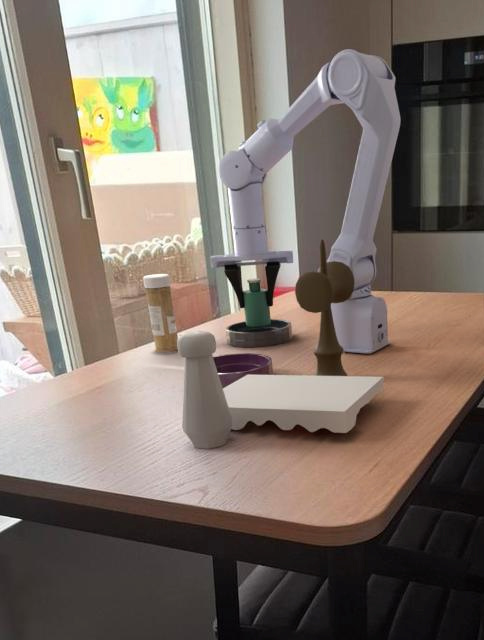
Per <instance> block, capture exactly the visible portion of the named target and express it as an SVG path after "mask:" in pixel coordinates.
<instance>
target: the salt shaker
mask: <svg viewBox="0 0 484 640" xmlns="http://www.w3.org/2000/svg"><path fill="white" fill-rule="evenodd" d="M177 349H178V350H177V353H178V355H179V356H181V358H184V370H183V371H184V374H183V377H184V378H183V404H182V423H181V425H182V426H181V427H182V430H183V432H184V434H185V435H186V436H187V438H188V439H189V441H190V442H191V443H192V445H193V446H194V448H195V449H205V450H210V449H215V448H218V447H219V448H220V447H223V446H224V445H225V444H226V443H227V441H228V440H229V436H230V432H231V430H232V429H231V427H232V417H231V414H230V411H229V407H228V404H227V401H226V398H225V394H224V391H223V388H222V385H221V382H220V378H219V375H218V372H217V369H216V366H215V362H214V359H213V357H214V355H213V354H214V353H216V350H217V340H216V337H215V335H214V334H213V333H211V332H209V331H203V330H202V331H201V330H194V331H188V332H185V333H183V334H180V335H179V336H178V340H177Z"/></svg>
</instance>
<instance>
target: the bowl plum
mask: <svg viewBox="0 0 484 640" xmlns="http://www.w3.org/2000/svg"><path fill="white" fill-rule="evenodd" d="M213 359H214V362H215V366H216V369H217V372H218V375H219V378H220V382H221V385H222V388H225V387H227V386H228V385H230V384H232V383H234V382H235V381H237V380H239V379H241V378H243V377H244V376H246V375H274V368H273V367H274V366H273V359H272V357H270V356H269V355H267V354H266V355H265V354H262V353H252V352H251V353H250V352H240V353H239V352H238V353H237V352H236V353H227V354H219V355H213Z"/></svg>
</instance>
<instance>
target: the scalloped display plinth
mask: <svg viewBox="0 0 484 640" xmlns="http://www.w3.org/2000/svg"><path fill="white" fill-rule="evenodd" d="M382 390H384V376H365V375H364V376H362V375H361V376H356V375H347V376H314V375H300V374H299V375H297V374H296V375H295V374H293V375H292V374H273V375H246V376H244V377H243V378H241V379H239V380H237V381H235V382H234V383H232V384H230V385H228V386H227V387H225V388H223V391H224V394H225V398H226V401H227V404H228V407H229V411H230V414H231V417H232V427H231V430H233V431H236V430H238V431H239V430H241V429H244V428H245V426H246V424H247V423H248V422H252V423H254V424H255V425H256V426H262V425H264V424H265V423H266V422H267V421H271V422H272V423H274V424H275V425H276V426H277V427H278V428H279V429H281V430H282V431H292V430H293V429H294V428H295V427H296V426H297V425H299V426H301V427H303V428H304V429H305V430H307V431H308V432H309V433H315V432H317V431H318V430H320V429H326V430H328V431H330V432H332V433H335V434H336V433H340V434H347V433H348V432H350V431H351V430H353V428H354V427H355V426H356V423H357V415H358V414H359V413H360V409H361V408H363V407H364V406H365V405H367V404H369V403H370V402H371V400H372V399H373V398H374V397H375V396H377V394H379V393H380V392H382Z"/></svg>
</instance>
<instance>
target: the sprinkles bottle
mask: <svg viewBox="0 0 484 640" xmlns="http://www.w3.org/2000/svg"><path fill="white" fill-rule="evenodd" d="M142 281H143V287H144V288H145V289H144V290H145V293H146V300H147V307H148V314H149V319H150V326H151V331H152V336H153V340H154V346H155V348H154V351H155V352H157V353H167V352H168V353H169V352H174V351H178V349H177V340H178V338H179V336H178V329H177V321H176V317H175V316H176V315H175V310H174V304H173V297H172V291H171V285H172V284H171V277H170V275H169V274H168V273H154V274H148V275H145V276H143V277H142Z"/></svg>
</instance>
